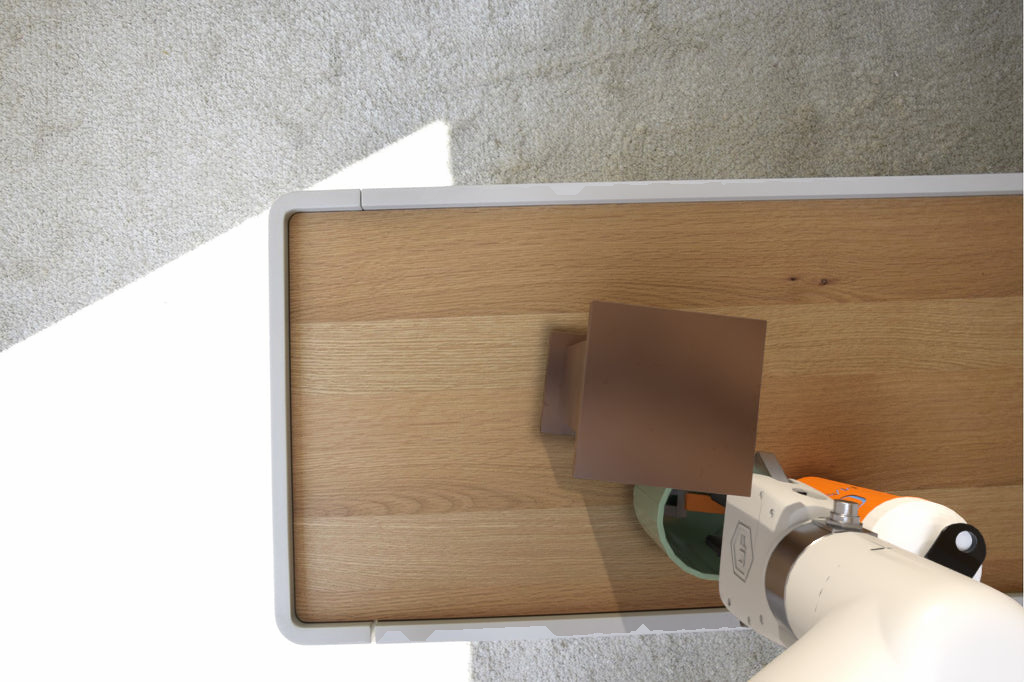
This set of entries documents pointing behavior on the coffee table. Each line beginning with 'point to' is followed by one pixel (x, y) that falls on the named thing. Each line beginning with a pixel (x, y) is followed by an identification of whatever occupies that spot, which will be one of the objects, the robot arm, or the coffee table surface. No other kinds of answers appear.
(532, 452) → the coffee table surface
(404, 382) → the coffee table surface
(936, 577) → the robot arm
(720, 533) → the green cup
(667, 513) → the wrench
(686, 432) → the stand
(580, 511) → the coffee table surface
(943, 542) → the shaker bottle
